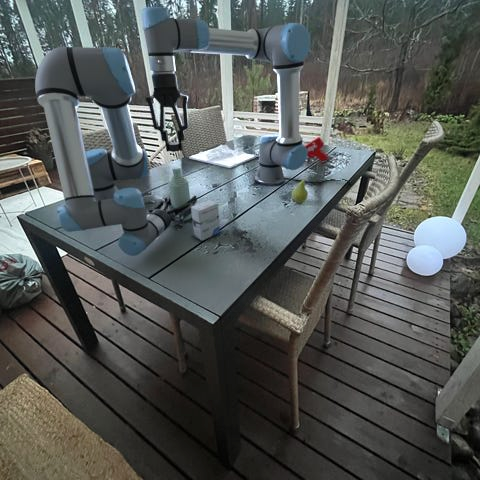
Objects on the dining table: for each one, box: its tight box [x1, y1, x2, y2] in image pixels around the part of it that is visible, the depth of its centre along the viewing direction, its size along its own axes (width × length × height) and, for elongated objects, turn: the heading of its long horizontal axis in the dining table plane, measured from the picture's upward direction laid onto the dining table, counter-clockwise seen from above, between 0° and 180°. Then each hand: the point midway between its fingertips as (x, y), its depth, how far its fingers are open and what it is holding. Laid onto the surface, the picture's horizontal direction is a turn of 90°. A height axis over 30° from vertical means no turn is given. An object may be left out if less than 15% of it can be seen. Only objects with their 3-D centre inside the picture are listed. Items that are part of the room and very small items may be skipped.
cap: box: [168, 141, 181, 153], centre depth 96 cm, size 4×4×2 cm
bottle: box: [167, 166, 192, 222], centre depth 105 cm, size 8×8×20 cm
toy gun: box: [304, 136, 329, 164], centre depth 170 cm, size 18×4×15 cm
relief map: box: [188, 143, 257, 169], centre depth 179 cm, size 27×35×5 cm
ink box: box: [191, 199, 221, 241], centre depth 95 cm, size 8×5×12 cm, turn 134°
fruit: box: [291, 174, 311, 204], centre depth 118 cm, size 7×8×12 cm
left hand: (186, 197), depth 111 cm, fingers closed on bottle, 8 cm apart
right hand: (174, 150), depth 96 cm, fingers closed on cap, 4 cm apart
